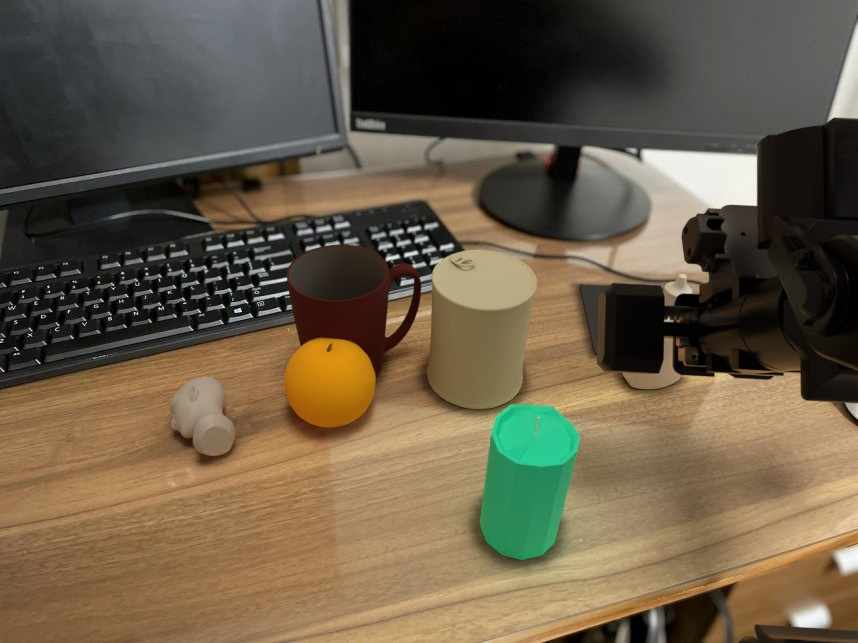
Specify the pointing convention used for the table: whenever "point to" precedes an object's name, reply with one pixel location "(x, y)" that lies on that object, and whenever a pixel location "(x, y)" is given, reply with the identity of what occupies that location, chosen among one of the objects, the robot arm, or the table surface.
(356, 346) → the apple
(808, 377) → the robot arm
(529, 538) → the candle
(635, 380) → the eye dropper bottle
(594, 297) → the felt mat
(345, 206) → the table surface
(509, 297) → the can
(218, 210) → the table surface
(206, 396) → the pale two-lobed sculpture
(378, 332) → the mug
